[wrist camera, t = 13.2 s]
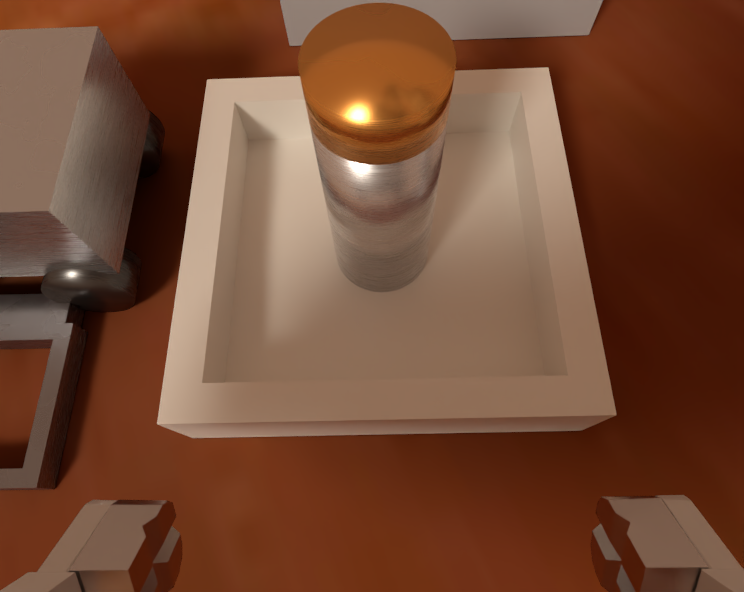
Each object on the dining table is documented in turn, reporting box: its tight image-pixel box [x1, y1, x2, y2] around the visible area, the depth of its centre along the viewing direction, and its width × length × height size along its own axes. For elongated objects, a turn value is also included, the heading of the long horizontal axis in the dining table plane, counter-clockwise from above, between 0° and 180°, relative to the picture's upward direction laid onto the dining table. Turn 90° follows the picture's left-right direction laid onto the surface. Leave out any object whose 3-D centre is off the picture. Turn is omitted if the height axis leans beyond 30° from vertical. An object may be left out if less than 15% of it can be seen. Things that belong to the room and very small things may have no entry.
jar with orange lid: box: [298, 3, 456, 292], centre depth 16 cm, size 4×4×9 cm
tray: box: [157, 67, 617, 438], centre depth 19 cm, size 13×13×3 cm
